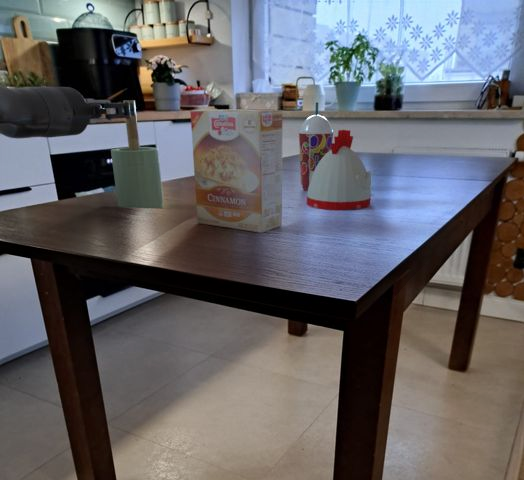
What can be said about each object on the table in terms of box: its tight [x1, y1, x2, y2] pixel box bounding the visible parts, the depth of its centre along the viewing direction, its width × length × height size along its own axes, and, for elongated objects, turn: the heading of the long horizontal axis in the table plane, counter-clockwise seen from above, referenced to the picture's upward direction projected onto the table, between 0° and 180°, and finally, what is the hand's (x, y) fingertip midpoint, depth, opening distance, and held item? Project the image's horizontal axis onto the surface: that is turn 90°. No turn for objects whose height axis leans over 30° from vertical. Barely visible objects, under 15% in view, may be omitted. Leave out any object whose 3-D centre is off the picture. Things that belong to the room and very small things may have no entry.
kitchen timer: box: [306, 129, 372, 211], centre depth 111 cm, size 14×14×15 cm
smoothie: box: [298, 102, 334, 192], centre depth 127 cm, size 8×8×20 cm
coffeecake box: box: [189, 109, 283, 234], centre depth 92 cm, size 15×7×20 cm, turn 56°
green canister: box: [110, 146, 164, 210], centre depth 109 cm, size 9×9×12 cm
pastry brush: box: [122, 99, 141, 151], centre depth 106 cm, size 4×4×20 cm
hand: (114, 109), depth 99 cm, fingers open, 8 cm apart
